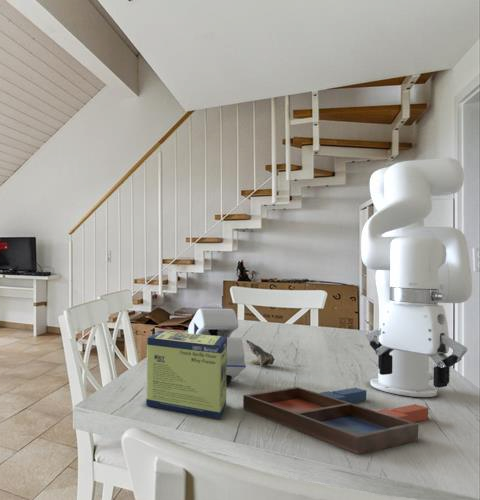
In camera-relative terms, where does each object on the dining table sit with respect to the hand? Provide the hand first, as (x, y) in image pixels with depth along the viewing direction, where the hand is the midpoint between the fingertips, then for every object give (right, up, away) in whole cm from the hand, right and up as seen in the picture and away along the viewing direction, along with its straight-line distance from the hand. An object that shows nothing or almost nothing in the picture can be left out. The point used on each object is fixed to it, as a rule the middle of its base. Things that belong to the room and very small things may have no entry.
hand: (411, 380), depth 98 cm
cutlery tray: (-19, -8, -1) cm, 21 cm away
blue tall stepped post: (-7, -8, +11) cm, 15 cm away
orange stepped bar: (-2, -8, -1) cm, 9 cm away
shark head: (-8, -8, +43) cm, 45 cm away
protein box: (-43, -8, +9) cm, 45 cm away
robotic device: (-27, -8, +30) cm, 41 cm away
